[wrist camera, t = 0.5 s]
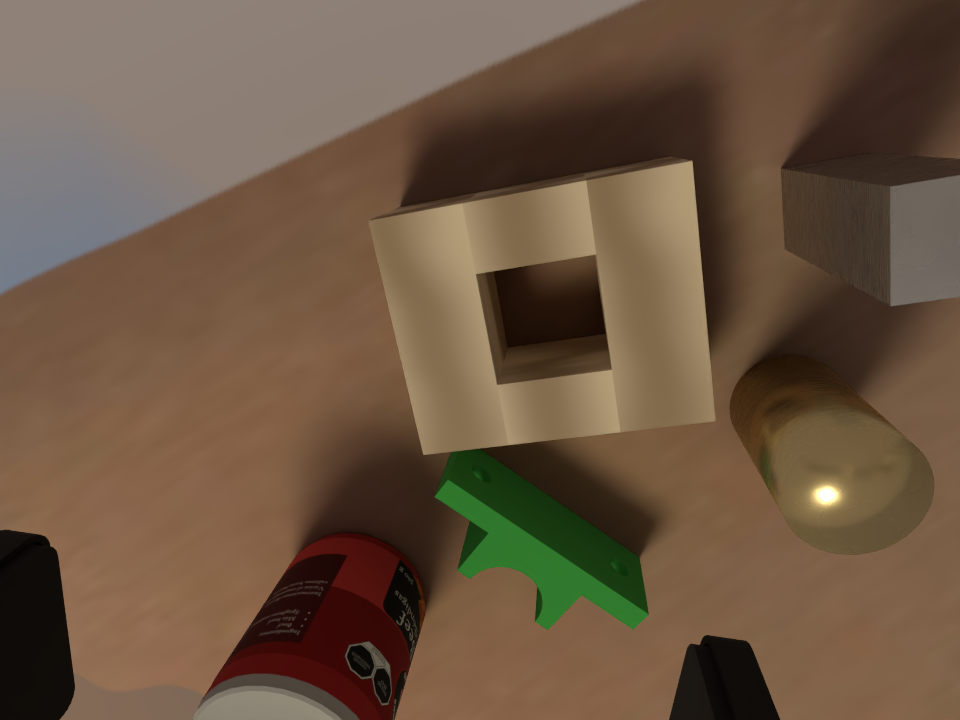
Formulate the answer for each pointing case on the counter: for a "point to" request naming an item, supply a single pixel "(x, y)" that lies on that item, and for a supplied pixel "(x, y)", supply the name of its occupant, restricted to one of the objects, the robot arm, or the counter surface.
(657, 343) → the socket block
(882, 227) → the square bit
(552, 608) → the pipe clamp
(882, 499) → the round bit
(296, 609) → the canned food
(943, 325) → the counter surface
